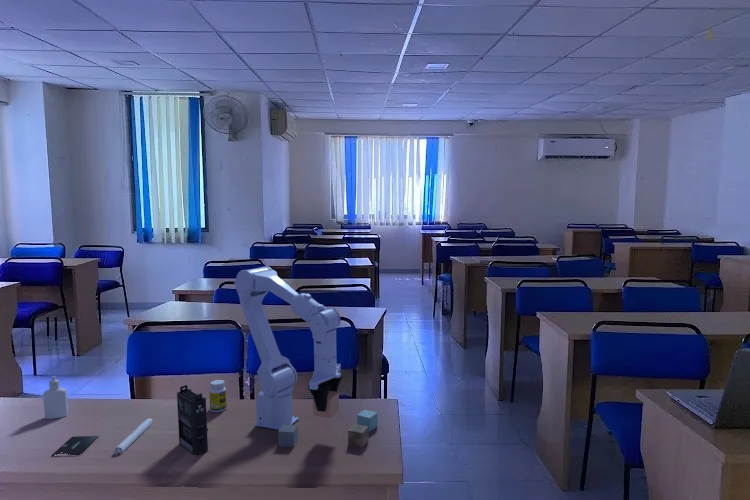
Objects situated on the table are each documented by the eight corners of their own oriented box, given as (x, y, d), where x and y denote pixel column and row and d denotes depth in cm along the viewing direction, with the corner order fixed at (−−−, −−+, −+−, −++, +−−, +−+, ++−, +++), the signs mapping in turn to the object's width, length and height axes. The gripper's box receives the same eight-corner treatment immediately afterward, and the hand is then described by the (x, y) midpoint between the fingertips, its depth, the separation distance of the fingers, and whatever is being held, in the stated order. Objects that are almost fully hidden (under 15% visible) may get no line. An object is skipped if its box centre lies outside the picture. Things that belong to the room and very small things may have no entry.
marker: (148, 422, 146) (147, 414, 145) (155, 422, 145) (155, 414, 145) (114, 455, 128) (114, 446, 127) (122, 455, 128) (122, 446, 127)
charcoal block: (278, 446, 131) (278, 431, 131) (282, 439, 135) (282, 424, 135) (293, 447, 131) (293, 432, 130) (297, 439, 135) (297, 424, 134)
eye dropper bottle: (53, 412, 152) (50, 373, 150) (71, 413, 151) (68, 374, 150) (42, 419, 147) (38, 378, 146) (59, 420, 147) (56, 379, 145)
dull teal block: (357, 428, 141) (357, 414, 140) (365, 423, 144) (365, 409, 144) (369, 432, 139) (369, 418, 138) (377, 426, 142) (377, 412, 142)
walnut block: (348, 445, 131) (347, 430, 131) (354, 438, 135) (354, 423, 135) (362, 448, 130) (362, 432, 130) (368, 441, 134) (368, 426, 133)
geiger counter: (214, 450, 129) (211, 392, 127) (196, 457, 126) (194, 398, 124) (194, 437, 136) (192, 382, 134) (177, 443, 133) (175, 386, 131)
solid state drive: (51, 458, 126) (50, 455, 126) (72, 438, 136) (72, 436, 136) (80, 457, 127) (80, 454, 127) (99, 438, 137) (99, 435, 137)
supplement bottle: (221, 413, 151) (220, 385, 150) (207, 412, 152) (205, 384, 151) (229, 406, 155) (228, 379, 155) (215, 405, 156) (214, 378, 155)
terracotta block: (313, 415, 134) (312, 396, 133) (321, 407, 138) (321, 389, 138) (330, 418, 132) (330, 399, 131) (338, 410, 136) (338, 392, 136)
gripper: (327, 366, 125) (327, 420, 127) (350, 349, 139) (351, 398, 140) (301, 363, 128) (302, 416, 129) (326, 346, 141) (327, 394, 143)
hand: (326, 406), depth 135 cm, fingers closed on terracotta block, 5 cm apart
